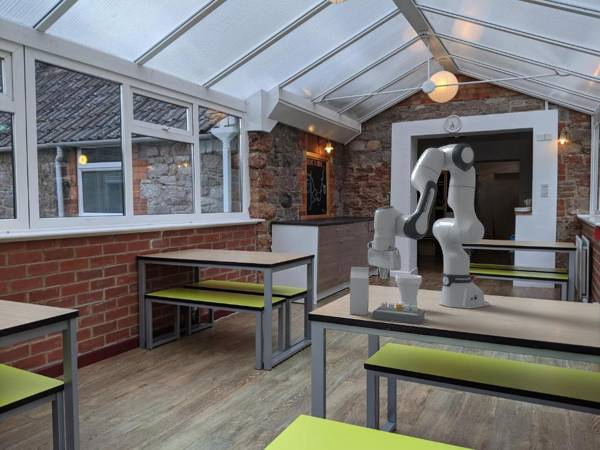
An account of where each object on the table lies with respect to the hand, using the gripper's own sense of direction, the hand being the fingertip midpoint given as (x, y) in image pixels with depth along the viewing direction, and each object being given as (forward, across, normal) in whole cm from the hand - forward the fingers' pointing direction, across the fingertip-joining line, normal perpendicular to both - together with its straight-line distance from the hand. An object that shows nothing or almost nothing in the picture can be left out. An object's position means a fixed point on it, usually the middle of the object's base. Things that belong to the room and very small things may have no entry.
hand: (383, 278), depth 203 cm
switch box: (+14, -12, 0) cm, 19 cm away
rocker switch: (+11, -12, 0) cm, 16 cm away
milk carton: (+14, +2, +10) cm, 18 cm away
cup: (+14, +2, -14) cm, 20 cm away
